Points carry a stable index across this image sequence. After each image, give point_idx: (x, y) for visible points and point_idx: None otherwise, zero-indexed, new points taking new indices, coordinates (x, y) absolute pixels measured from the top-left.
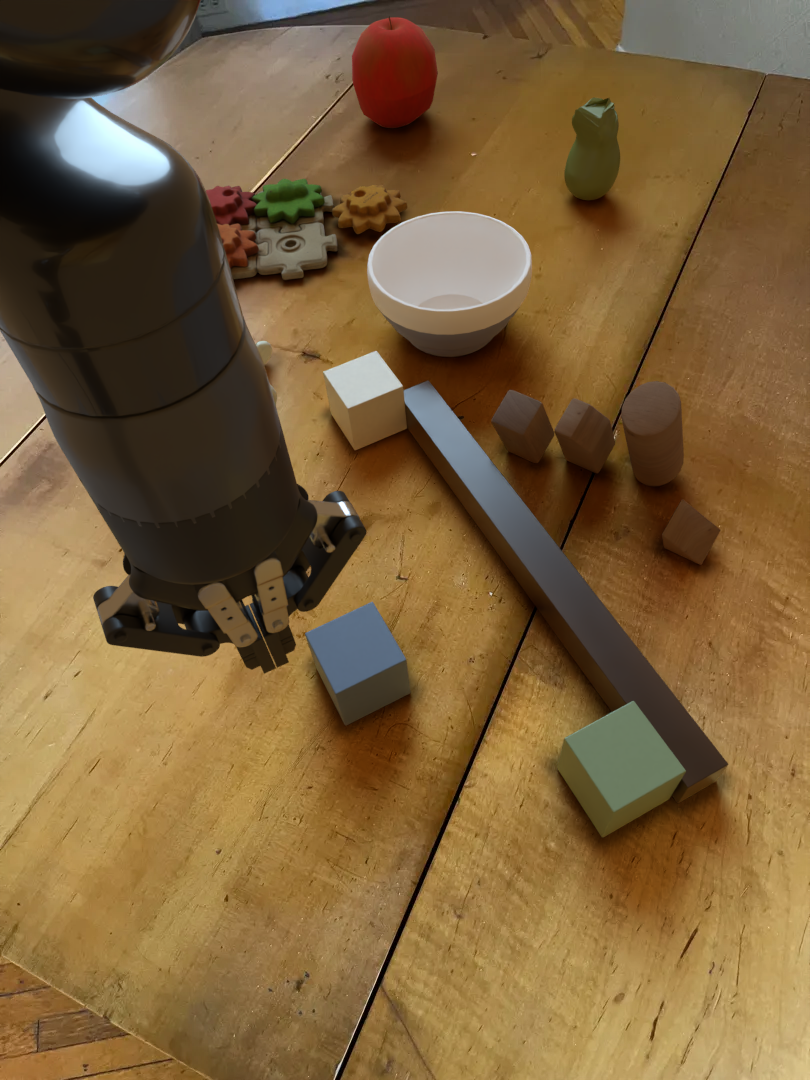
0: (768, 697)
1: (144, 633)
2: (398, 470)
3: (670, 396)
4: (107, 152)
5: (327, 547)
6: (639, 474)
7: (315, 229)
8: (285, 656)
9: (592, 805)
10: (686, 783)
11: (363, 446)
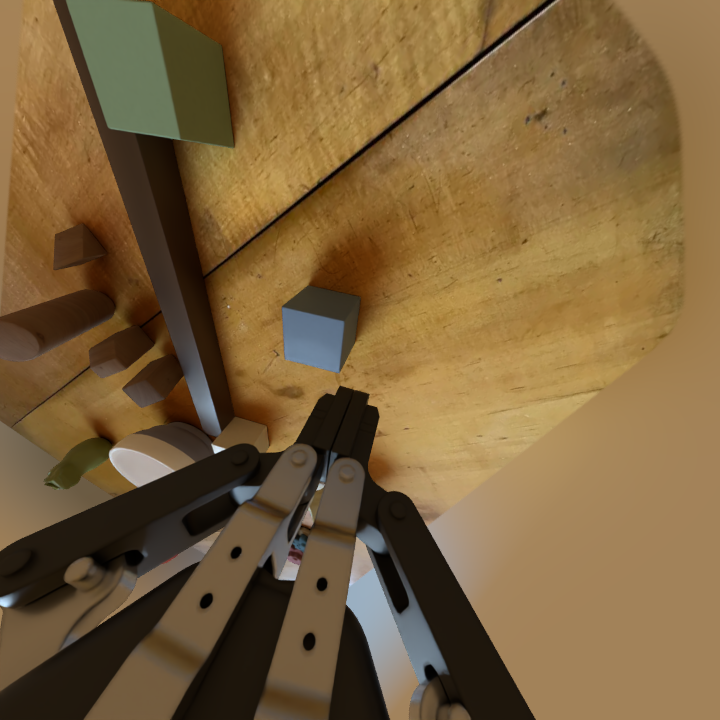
0: (48, 74)
1: (479, 717)
2: (249, 402)
3: None
4: None
5: (74, 581)
6: (101, 306)
7: None
8: (335, 397)
9: (201, 67)
10: None
11: (261, 424)
